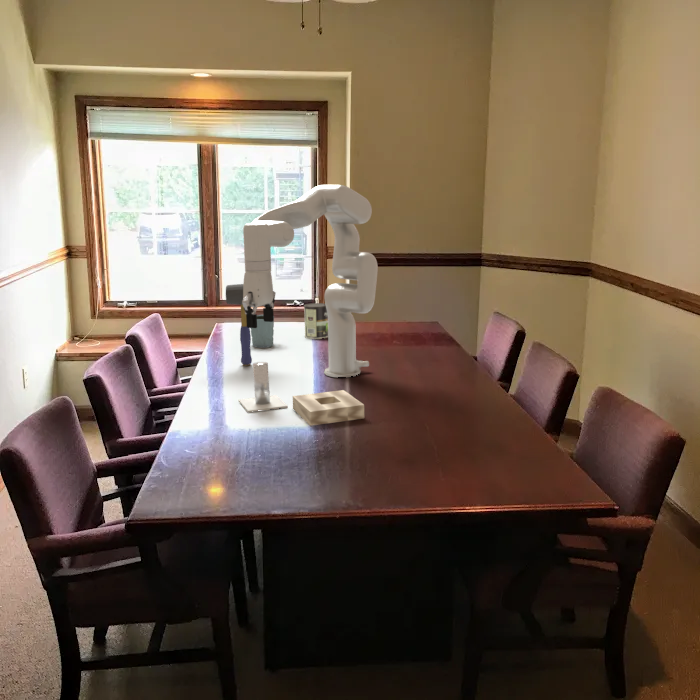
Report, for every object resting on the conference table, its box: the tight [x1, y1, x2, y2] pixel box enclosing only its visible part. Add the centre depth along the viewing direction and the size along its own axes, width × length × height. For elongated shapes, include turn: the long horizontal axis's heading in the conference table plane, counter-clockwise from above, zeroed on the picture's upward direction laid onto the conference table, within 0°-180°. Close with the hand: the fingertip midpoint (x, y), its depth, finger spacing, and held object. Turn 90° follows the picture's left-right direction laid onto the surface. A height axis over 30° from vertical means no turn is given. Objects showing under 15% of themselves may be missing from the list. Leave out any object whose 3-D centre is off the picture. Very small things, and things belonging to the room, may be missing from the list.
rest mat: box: [238, 394, 288, 413], centre depth 212 cm, size 12×12×1 cm
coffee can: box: [303, 302, 328, 340], centre depth 305 cm, size 10×10×14 cm
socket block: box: [292, 389, 365, 427], centre depth 203 cm, size 16×16×4 cm
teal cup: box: [250, 314, 275, 349], centre depth 290 cm, size 10×10×12 cm
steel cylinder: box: [252, 361, 271, 405], centre depth 211 cm, size 4×4×12 cm
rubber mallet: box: [225, 283, 253, 367], centre depth 256 cm, size 12×8×30 cm, turn 93°
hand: (260, 324), depth 207 cm, fingers open, 9 cm apart
